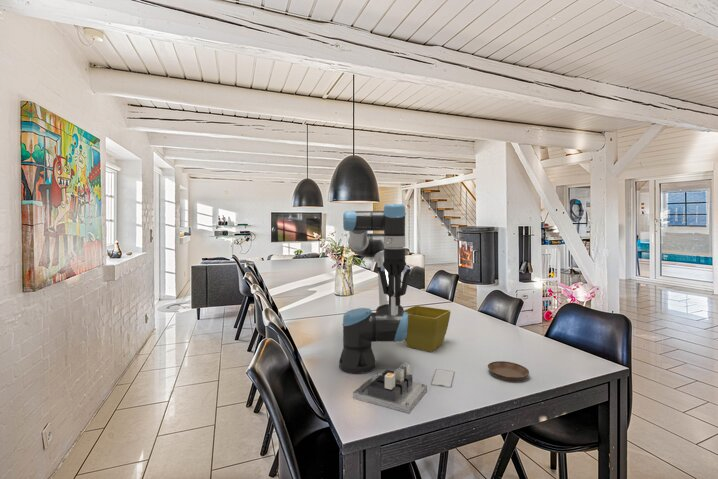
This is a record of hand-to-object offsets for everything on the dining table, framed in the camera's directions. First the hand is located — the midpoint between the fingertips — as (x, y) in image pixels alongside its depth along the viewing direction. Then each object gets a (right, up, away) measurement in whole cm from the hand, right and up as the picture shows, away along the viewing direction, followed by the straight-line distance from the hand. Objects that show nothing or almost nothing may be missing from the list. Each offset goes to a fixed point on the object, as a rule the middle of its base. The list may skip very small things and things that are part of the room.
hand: (394, 314), depth 127 cm
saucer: (+45, -26, +11) cm, 53 cm away
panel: (-2, -27, -4) cm, 27 cm away
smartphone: (+19, -27, +9) cm, 34 cm away
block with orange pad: (-3, -22, -10) cm, 24 cm away
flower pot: (+19, -25, +45) cm, 54 cm away
